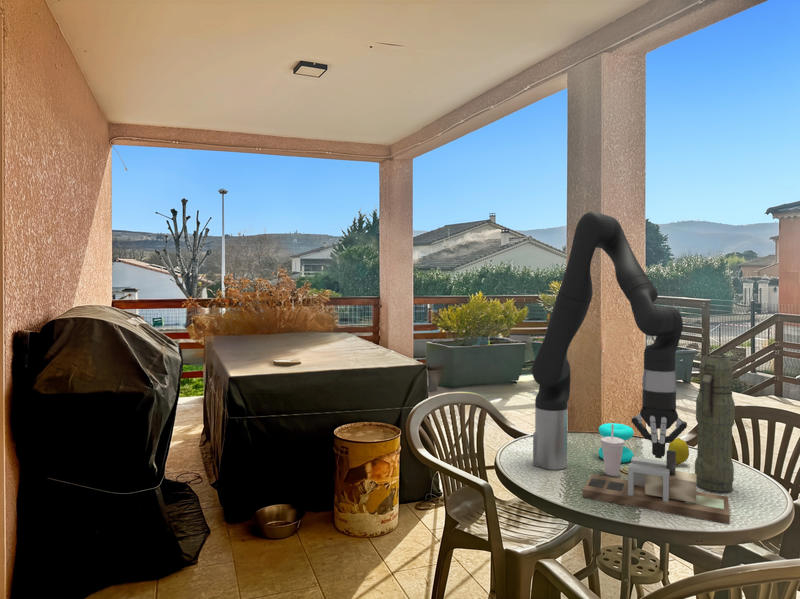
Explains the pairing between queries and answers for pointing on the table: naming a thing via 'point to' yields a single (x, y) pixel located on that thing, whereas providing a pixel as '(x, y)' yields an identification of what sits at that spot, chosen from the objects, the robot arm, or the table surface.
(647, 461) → the tunnel
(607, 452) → the smoothie
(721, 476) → the green stone statue
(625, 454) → the donuts
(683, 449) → the lemon
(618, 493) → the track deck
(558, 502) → the table surface
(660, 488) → the block
